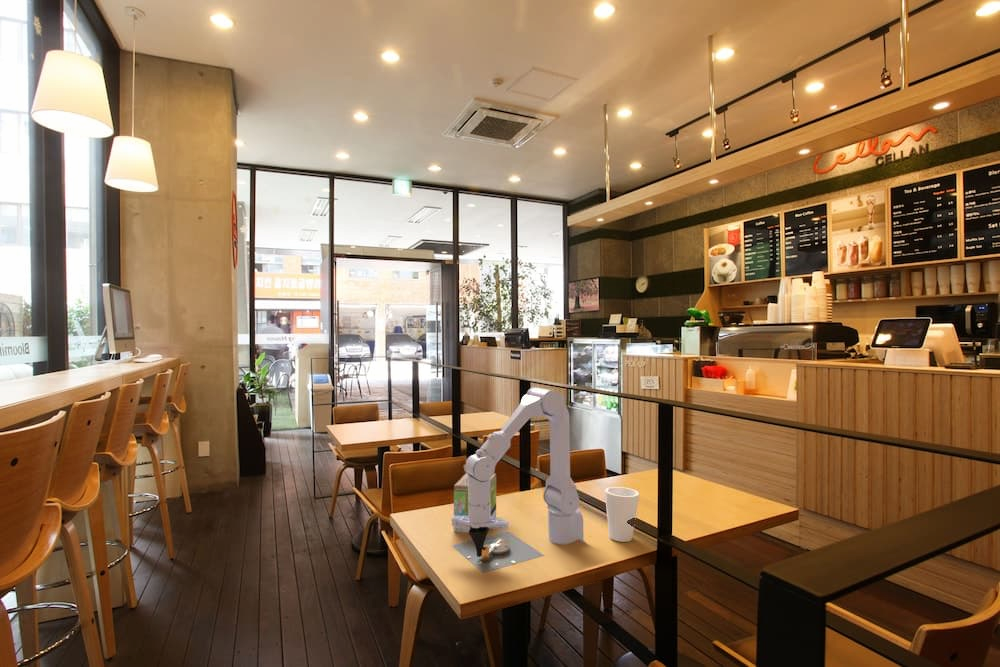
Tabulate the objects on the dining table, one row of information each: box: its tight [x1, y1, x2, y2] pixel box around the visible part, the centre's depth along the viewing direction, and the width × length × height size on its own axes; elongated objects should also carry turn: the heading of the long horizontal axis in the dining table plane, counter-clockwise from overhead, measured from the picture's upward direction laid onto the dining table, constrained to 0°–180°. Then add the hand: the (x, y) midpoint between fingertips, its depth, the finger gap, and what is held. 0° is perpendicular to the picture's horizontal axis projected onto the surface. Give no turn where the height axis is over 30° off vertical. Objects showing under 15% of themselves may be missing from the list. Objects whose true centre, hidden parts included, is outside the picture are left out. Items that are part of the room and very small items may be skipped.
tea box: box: [453, 472, 497, 533], centre depth 156 cm, size 15×10×15 cm, turn 168°
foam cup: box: [604, 486, 640, 543], centre depth 146 cm, size 10×9×13 cm
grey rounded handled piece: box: [482, 538, 510, 562], centre depth 134 cm, size 12×7×3 cm, turn 156°
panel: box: [451, 531, 545, 574], centre depth 137 cm, size 18×18×1 cm
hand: (480, 555), depth 132 cm, fingers closed
